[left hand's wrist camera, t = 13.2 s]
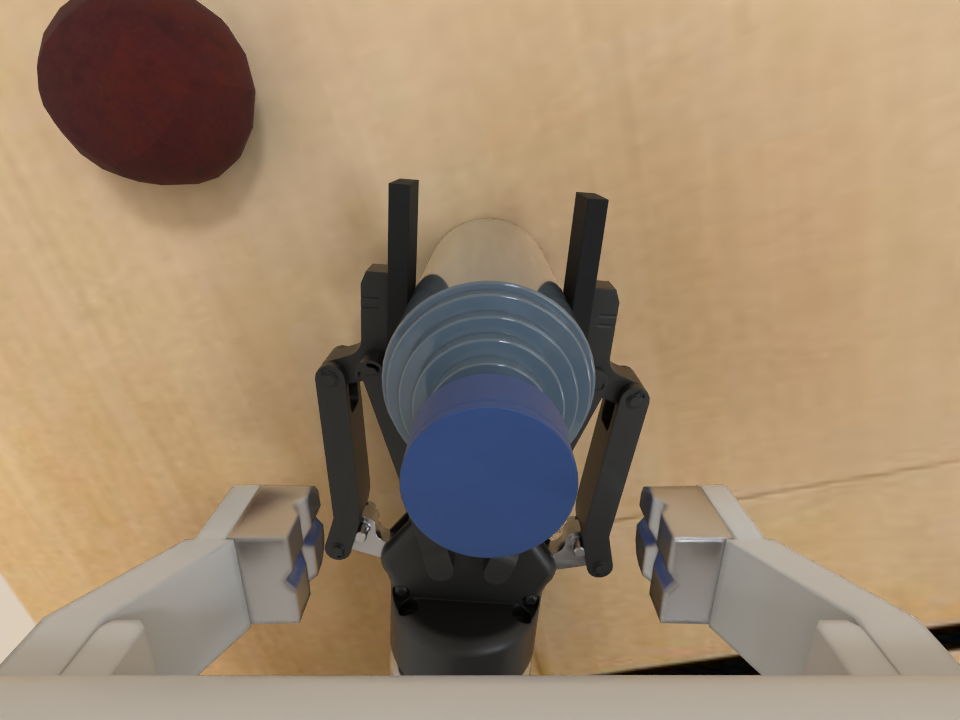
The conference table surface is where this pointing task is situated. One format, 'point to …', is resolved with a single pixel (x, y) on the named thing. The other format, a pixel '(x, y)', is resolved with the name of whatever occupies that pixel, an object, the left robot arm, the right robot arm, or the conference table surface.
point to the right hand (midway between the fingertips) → (498, 189)
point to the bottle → (488, 325)
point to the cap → (488, 467)
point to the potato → (148, 88)
